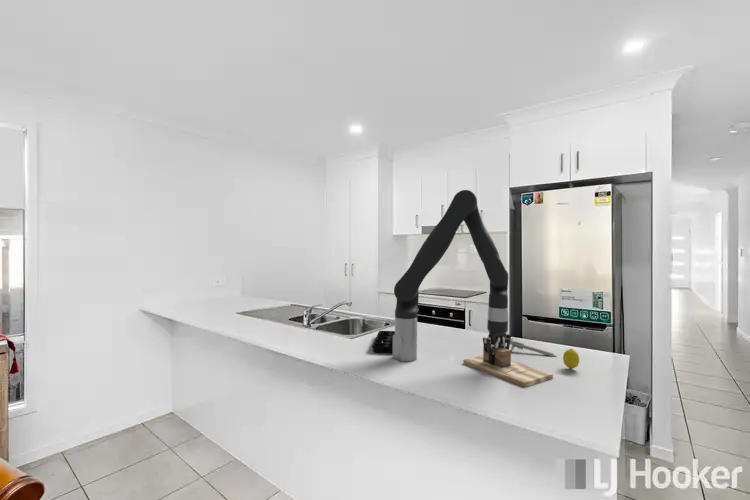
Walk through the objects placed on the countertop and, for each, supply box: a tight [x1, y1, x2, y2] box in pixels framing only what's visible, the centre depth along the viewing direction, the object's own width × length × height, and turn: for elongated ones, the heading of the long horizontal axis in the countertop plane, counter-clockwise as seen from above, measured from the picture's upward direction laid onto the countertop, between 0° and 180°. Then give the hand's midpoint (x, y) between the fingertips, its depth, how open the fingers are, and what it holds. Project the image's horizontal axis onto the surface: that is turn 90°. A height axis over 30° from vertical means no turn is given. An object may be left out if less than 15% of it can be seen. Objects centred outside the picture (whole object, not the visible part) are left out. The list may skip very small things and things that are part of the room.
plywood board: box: [462, 355, 554, 388], centre depth 140 cm, size 16×28×2 cm, turn 32°
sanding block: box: [482, 345, 512, 368], centre depth 143 cm, size 9×5×6 cm, turn 32°
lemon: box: [562, 348, 580, 370], centre depth 142 cm, size 6×6×8 cm
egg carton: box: [371, 330, 395, 355], centre depth 173 cm, size 18×30×4 cm, turn 5°
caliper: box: [510, 337, 557, 358], centre depth 163 cm, size 20×1×6 cm, turn 65°
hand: (496, 362), depth 143 cm, fingers closed on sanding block, 5 cm apart
